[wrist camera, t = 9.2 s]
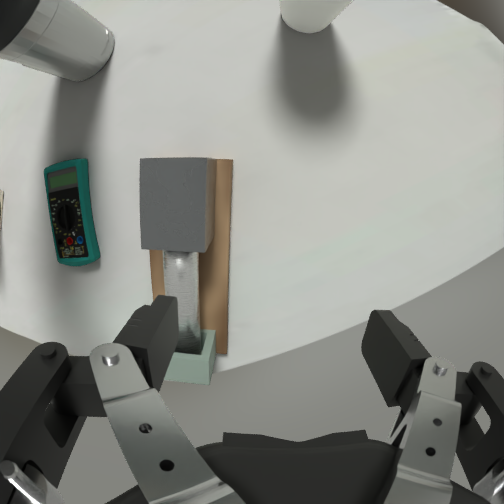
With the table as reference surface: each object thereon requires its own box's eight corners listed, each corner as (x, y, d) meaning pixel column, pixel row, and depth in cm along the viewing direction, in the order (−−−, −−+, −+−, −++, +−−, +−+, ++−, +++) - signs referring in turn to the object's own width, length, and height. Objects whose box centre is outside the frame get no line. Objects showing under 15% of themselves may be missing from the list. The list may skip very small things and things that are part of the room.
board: (161, 341, 40) (159, 346, 39) (152, 159, 32) (148, 159, 31) (227, 347, 40) (226, 353, 39) (232, 159, 32) (231, 159, 31)
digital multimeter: (66, 261, 37) (56, 268, 34) (52, 166, 33) (40, 167, 30) (103, 260, 37) (94, 267, 34) (89, 156, 33) (78, 156, 30)
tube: (175, 347, 37) (168, 365, 33) (167, 208, 31) (156, 214, 28) (203, 350, 37) (199, 368, 33) (201, 209, 31) (194, 215, 28)
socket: (168, 348, 39) (155, 378, 32) (166, 325, 38) (151, 354, 31) (216, 353, 39) (209, 385, 32) (215, 330, 38) (208, 361, 31)
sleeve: (161, 233, 34) (141, 249, 27) (161, 159, 31) (140, 158, 25) (214, 236, 34) (204, 252, 27) (216, 159, 31) (207, 157, 25)
